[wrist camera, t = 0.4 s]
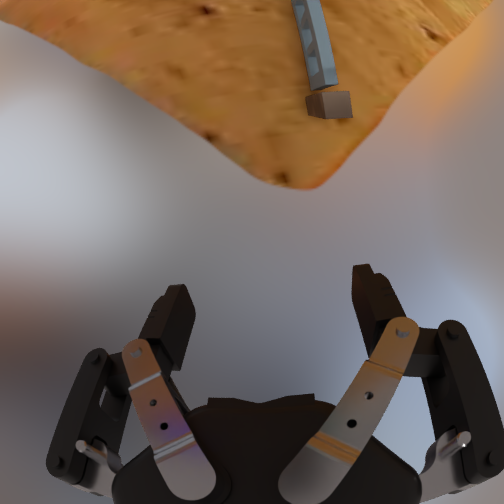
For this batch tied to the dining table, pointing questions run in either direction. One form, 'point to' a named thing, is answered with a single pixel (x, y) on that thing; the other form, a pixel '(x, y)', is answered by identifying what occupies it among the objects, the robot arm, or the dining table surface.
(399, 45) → the dining table surface
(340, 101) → the gate posts
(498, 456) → the robot arm
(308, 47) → the gate leaf
